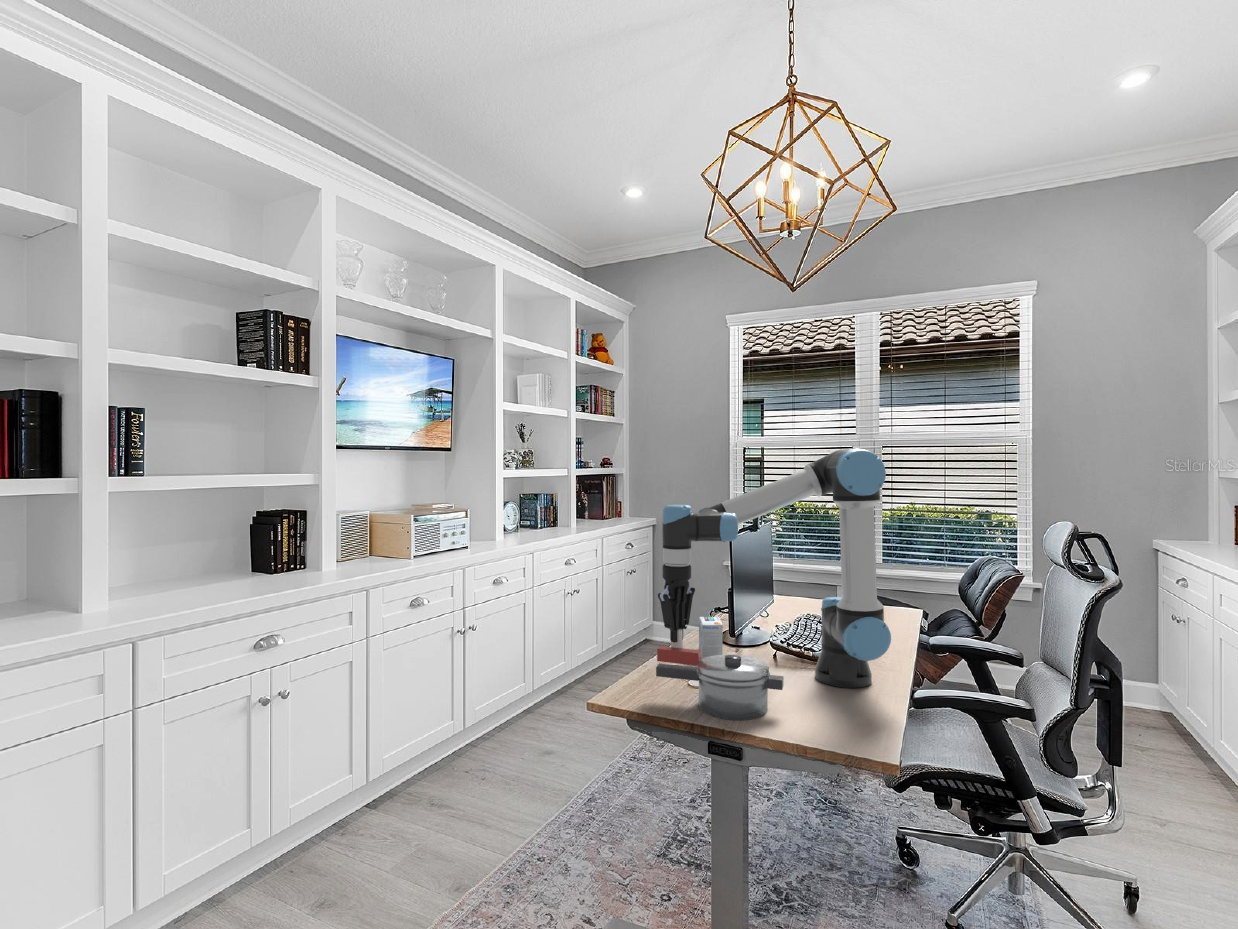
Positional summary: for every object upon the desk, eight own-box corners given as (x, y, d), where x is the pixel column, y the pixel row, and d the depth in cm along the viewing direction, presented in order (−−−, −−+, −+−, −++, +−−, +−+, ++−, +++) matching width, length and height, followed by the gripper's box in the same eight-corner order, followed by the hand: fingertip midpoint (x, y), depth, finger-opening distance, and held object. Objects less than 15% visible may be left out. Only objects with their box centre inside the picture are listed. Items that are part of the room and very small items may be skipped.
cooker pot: (785, 700, 172) (786, 665, 172) (779, 727, 155) (779, 688, 155) (666, 686, 182) (666, 653, 182) (648, 710, 165) (648, 673, 165)
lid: (773, 663, 173) (773, 649, 173) (762, 685, 156) (762, 670, 156) (668, 652, 183) (668, 638, 183) (647, 671, 167) (647, 656, 166)
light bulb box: (698, 649, 218) (698, 616, 218) (719, 649, 218) (719, 616, 218) (701, 659, 208) (701, 624, 208) (723, 659, 207) (723, 624, 207)
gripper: (681, 559, 183) (681, 645, 183) (649, 565, 173) (649, 656, 174) (703, 562, 177) (703, 651, 178) (672, 568, 168) (672, 662, 168)
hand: (676, 653), depth 176 cm, fingers closed
